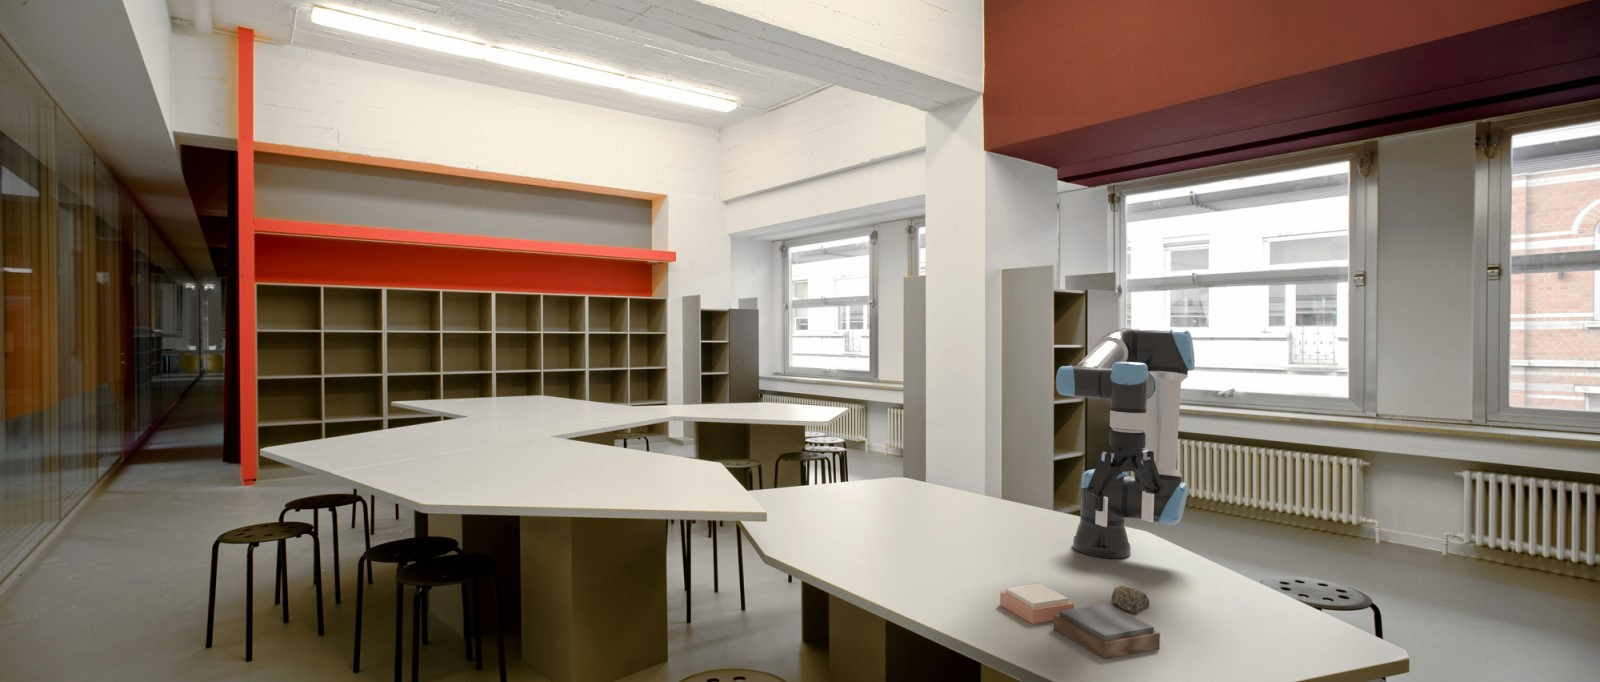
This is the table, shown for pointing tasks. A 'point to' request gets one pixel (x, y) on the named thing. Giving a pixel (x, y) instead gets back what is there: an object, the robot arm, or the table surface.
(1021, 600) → the terracotta plinth
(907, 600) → the table surface
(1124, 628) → the walnut plinth
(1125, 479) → the robot arm
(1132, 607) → the rock
